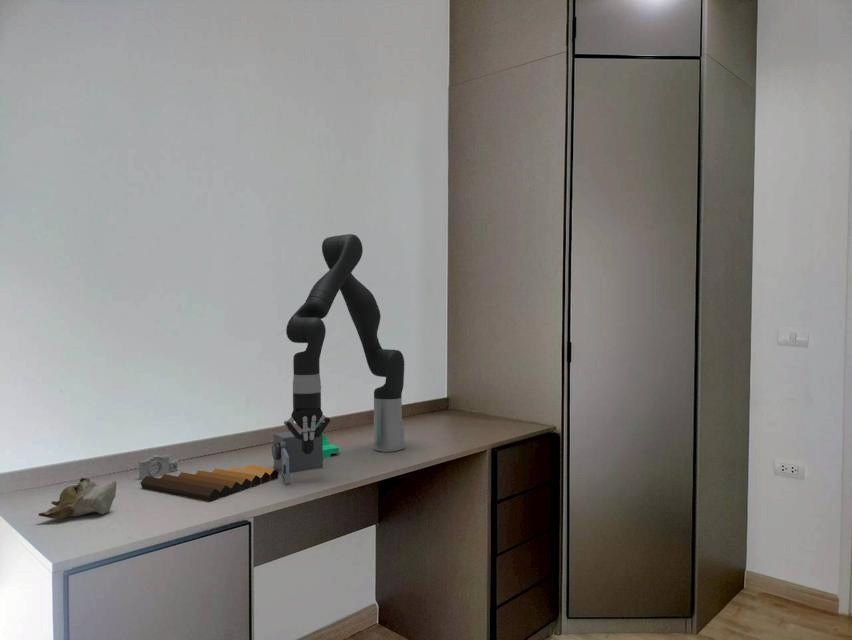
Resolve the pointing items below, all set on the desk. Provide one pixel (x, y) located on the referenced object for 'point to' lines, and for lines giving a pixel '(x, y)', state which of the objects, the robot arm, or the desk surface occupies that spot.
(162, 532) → the desk surface
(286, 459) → the door
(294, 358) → the robot arm
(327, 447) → the camera mount
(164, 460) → the grey ringed bracket
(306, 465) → the housing
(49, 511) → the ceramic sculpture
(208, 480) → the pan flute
